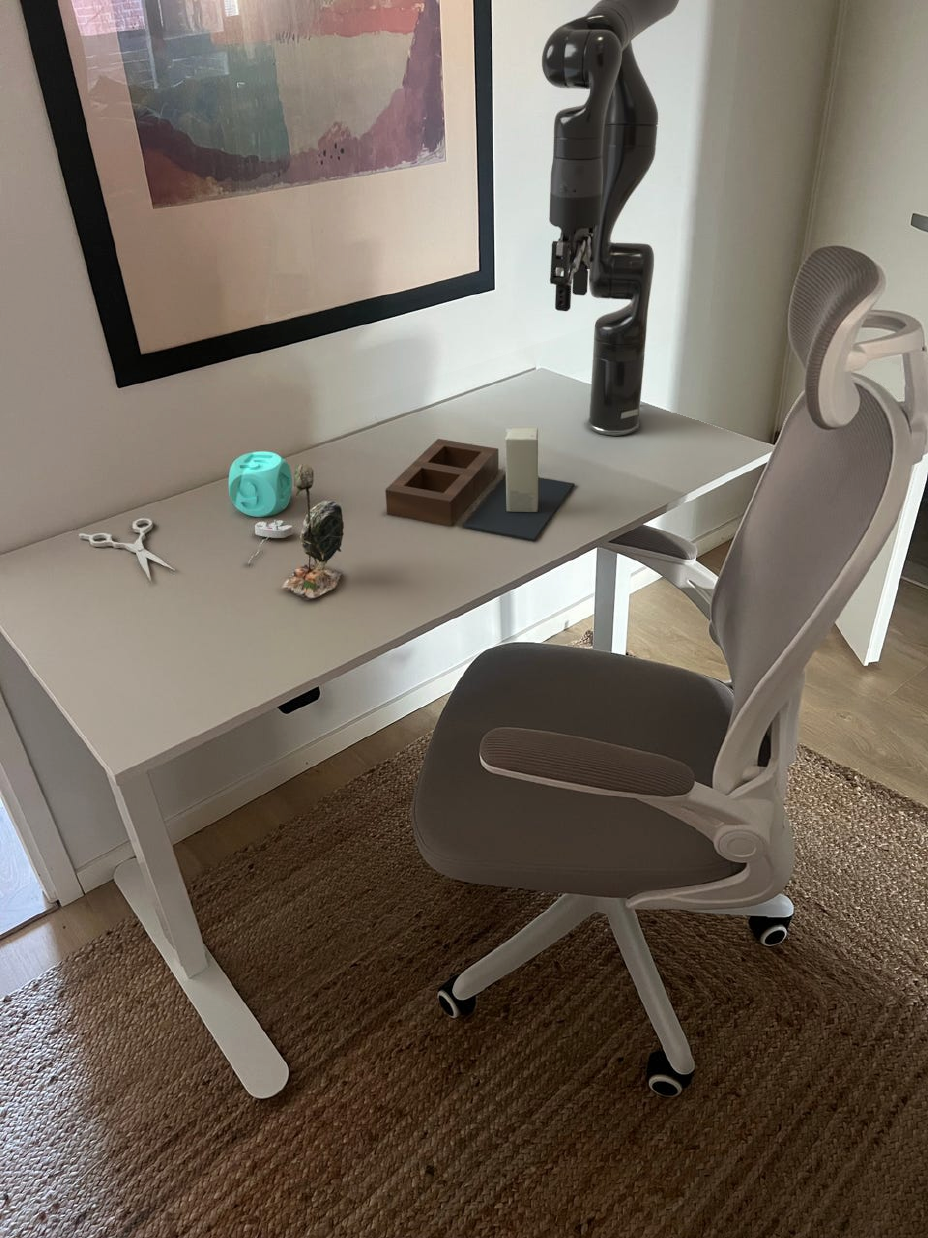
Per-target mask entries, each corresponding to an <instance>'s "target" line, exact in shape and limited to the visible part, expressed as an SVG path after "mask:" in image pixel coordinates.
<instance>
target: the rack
mask: <svg viewBox="0 0 928 1238" xmlns="http://www.w3.org/2000/svg"><path fill="white" fill-rule="evenodd" d="M498 473H499V448H497V447H492V446H491V447H490V446H485V445H479V444H474V443H467V442H460V441H453V440H448V439H441V438H437V439H436V440H435V441H434V442H433V443H432V444H431V445H430V446H429V447H428V448H427V449H426V450H424V451H423V452H422V453H421V455H419V456H418V457H417V458H416V459H415V460H414V461H413V462H412V463H411V464H410V465H409V466H408V467H407V468H405V470H404V471H403V472H402V473H401V474H399V476H398V477H396V479H394V480H393V481H392V482H391V483H390V484H389V485H387V487H386V488H385V492H384V493H385V505H386V515H390V516H395V517H400V518H405V519H409V520H410V519H411V520H414V521H415V520H416V521H420V522H425V523H430V524H431V523H432V524H436V525H442V526H446V527H453V525H454V524H456V522H457V521H458V520H459V518H460V517H461V516H462V515H463V514H464V513H465V512H466V510H467V509H468V508H469V507H470V506H471V504H473V502H474V501H475V500H476V499H477V497H478V496H479V495H480V494H481V493H482V492H483V491H484V490H485V488H486V487H487V486H488V485H489V484H490V483H491V481H492V480H493V479H494V478H495V477H496V476H497V474H498Z"/></svg>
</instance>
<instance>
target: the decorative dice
mask: <svg viewBox="0 0 928 1238" xmlns="http://www.w3.org/2000/svg"><path fill="white" fill-rule="evenodd" d="M292 486H293V478H292V471H291V467H290V464H289V463H288V462H287V461H286V460H285V458H283V457H282V456H280V455H279V454H277V453H275V452H272V451H252V452H248V453H245V454H242V455H240V456H238V457H237V458H236V459H235V460H234V461H233V462H232V464H231V466H230V469H229V473H228V495H229V498H230V501H231V503H232V504H233V506H234V507H235V508H236V509H237V510H238V511H239V512H241V513H243V514H244V515H246V516H249V517H254V518H255V517H256V518H266V517H272V516H274V515H278V514H279V513H281V512H283V511H284V510H286V508H287V507H288V506H289V503H290V501H291V495H292V490H293V489H292V488H293V487H292Z"/></svg>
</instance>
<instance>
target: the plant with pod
mask: <svg viewBox="0 0 928 1238" xmlns="http://www.w3.org/2000/svg"><path fill="white" fill-rule="evenodd" d="M314 472H315V471H314V469H313V467H312V466H310V465H308V464H302V463H301V464H299V465H296V466H295V468H294V474H293V486H294V487H295V488H296V491H295V497H296V498H298V497H299V493H300V492H302V491H304V490H305V492H306V504H307V513H306V515H305V517H304V520H303V522H302V527H301V532H300V536H299V537H300V540H301V546H302V550H303V552H304V554H306V555H307V556H308V563H307V564H302V565H300V566H299V567H297V568H296V569H295V570H294V571H293V573H292V574H290V576H287V577H286V580H285V581H284V583H283V585H282V586H281V588H282V590H290V592H293V593H296V596H299V597H300V596H301V597H302V599H304V600H307V601H308V600H312V599H315V598H317V597H320V596H322V595H323V594H325V593H327V592H329V591H332V590H333V589H335V588H336V587H337V586H338V583H339V579H340V578H341V574H342V573H343V572H341V571H334V570H329V569H326V568H325V567H326V565H327V563H328V562H329V560H331V559H332V558H333V557H334V555H335V554H336V552H337V551H338V552H339V553H342V550H341V547H342V543H343V542H342V541H343V538H344V536H345V535H344V534H345V533H344V529H345V524H344V523H345V522H344V517H343V510H342V506H341V505H340V504H342V503H343V501H342V500H341V501H340V504H339V503H337V502H336V501H331V500H322V501H321V502H319V503H318V504H317V505H315V506H313V507H312V508H311V504H310V503H311V500H310V498H311V496H310V495H311V494H310V489H312V488H313V485H314V481H315V479H314ZM312 558H313V560H314V564H312V563H311V562H312V561H311V559H312Z"/></svg>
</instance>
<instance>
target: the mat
mask: <svg viewBox="0 0 928 1238" xmlns="http://www.w3.org/2000/svg"><path fill="white" fill-rule="evenodd" d="M574 487H575V483H574V482H568V481H563V480H556V479H551V478H545V477H540V476H538V510H537V512H508V511H507V501H506V474H504V476H503V477H501V479H500V480H499V482H498V483H497V484H496V485H495V486H494V488H493V489H492V490H491V491H490V492H489V493H488V495H487V496H486V497H485V498H484V499H483V500H482V502H481V503H480V504H479V505H478V507H477V508H476V509H475V510H474V511H473V512H472V513H471V514H470V516H469V517H468V518H467V519H466V521H465V522H464V523H463V524H462V528H463V529H468V530H471V531H478V532H483V533H489V534H492V535H498V536H503V537H508V538H513V539H519V540H525V541H530V542H536V540H537V539H538V538H539V536H540V535H541V533H542V532H543V530H544V529H545V527H546V526H547V525H548V523H549V522H550V520H551V519H552V517H553V516H554V515H555V514H556V512H557V511H558V509H559V508H560V507H561V505H562V503H564V501H565V499H566V498H567V496H569V494H570V492H572V489H573V488H574Z"/></svg>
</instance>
